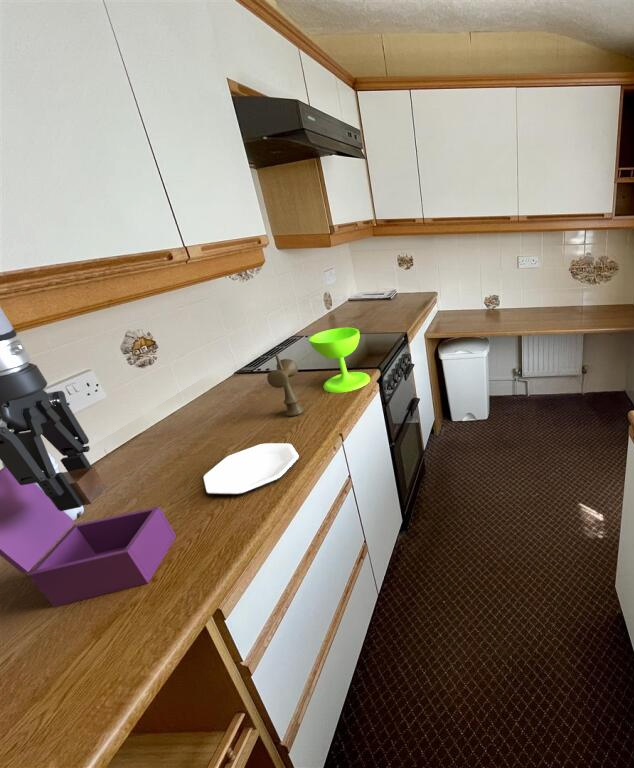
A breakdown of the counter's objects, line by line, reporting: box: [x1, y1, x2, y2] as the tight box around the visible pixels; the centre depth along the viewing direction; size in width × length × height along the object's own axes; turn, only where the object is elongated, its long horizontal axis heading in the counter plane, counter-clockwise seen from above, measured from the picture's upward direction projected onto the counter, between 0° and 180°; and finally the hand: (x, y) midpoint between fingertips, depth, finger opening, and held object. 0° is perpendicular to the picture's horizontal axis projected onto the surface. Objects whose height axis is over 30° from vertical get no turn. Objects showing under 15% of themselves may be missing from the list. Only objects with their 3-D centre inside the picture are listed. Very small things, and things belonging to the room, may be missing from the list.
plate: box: [202, 442, 300, 496], centre depth 100 cm, size 20×20×2 cm
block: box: [50, 466, 107, 511], centre depth 67 cm, size 4×4×4 cm
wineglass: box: [308, 327, 371, 394], centre depth 141 cm, size 16×16×18 cm
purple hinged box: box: [27, 506, 177, 608], centre depth 73 cm, size 14×12×8 cm
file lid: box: [0, 466, 76, 574], centre depth 67 cm, size 14×12×1 cm
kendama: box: [266, 353, 305, 417], centre depth 122 cm, size 6×10×20 cm, turn 9°
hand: (81, 497), depth 68 cm, fingers closed on block, 4 cm apart
